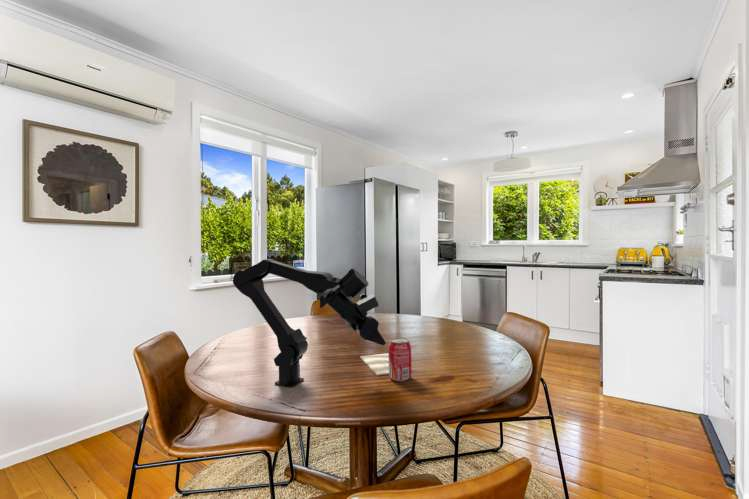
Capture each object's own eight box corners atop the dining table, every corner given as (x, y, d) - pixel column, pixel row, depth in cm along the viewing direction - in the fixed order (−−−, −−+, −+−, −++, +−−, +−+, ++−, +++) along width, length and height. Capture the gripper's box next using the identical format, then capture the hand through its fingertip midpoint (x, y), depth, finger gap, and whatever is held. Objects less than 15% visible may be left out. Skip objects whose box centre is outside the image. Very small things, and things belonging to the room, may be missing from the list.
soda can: (397, 373, 122) (397, 336, 122) (415, 377, 117) (415, 339, 117) (384, 379, 116) (383, 340, 116) (402, 384, 112) (402, 344, 112)
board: (411, 371, 123) (411, 369, 123) (377, 375, 119) (377, 373, 119) (390, 354, 142) (390, 353, 142) (360, 357, 138) (360, 356, 138)
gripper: (371, 289, 104) (408, 326, 107) (354, 283, 122) (387, 315, 125) (343, 320, 102) (382, 356, 105) (330, 309, 119) (364, 340, 123)
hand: (379, 340), depth 114 cm, fingers open, 9 cm apart
